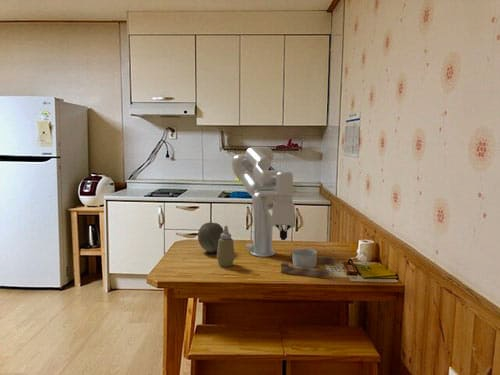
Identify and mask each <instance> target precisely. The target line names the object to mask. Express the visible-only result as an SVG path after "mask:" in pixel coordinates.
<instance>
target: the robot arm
mask: <svg viewBox="0 0 500 375" xmlns="http://www.w3.org/2000/svg"><path fill="white" fill-rule="evenodd" d="M273 160H274V151H273V149H271V147H268V146H251V147H249V148H247V149H246V151H245V153H240V154H235V155H234V156H233V157H232V160H231V167H232V170H233V173H234V175H235V177H236V178H237V179H238V180H239V181H240V182H241V184H242V185H243V187H245V189H246V191H247V193H248V195H250V196H251V205H252V209H253V210H252V211H253V212H252V213H253V231H252V232H253V236H252V237H253V239H252V240H253V243H245V248H246V249H250V250H249V254H250V255H252V256H254V257H261V258H262V257H263V258H264V257H266V258H267V257H273V256H275V254H276V250H275V249H273V229H274V228H273V227H276V228H277V229H278V231H279V238H280V240H281V241H286V239H287V238H288V230H289V229H292V228H296V207H295V202H294V201H293V198H294V197H293V192H294V191H293V190H294V188H293V187H294V186H293V185H294V184H293V183H294V174H293V173H292V171H285V170H281V169H279V170H277V169H276V170H275V169H273V170H271V169H270V168H271V166H272V161H273ZM269 169H270V170H269ZM270 211H271V213H270Z"/></svg>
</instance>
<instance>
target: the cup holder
mask: <svg viewBox="0 0 500 375" xmlns="http://www.w3.org/2000/svg"><path fill="white" fill-rule="evenodd" d="M293 251H294V250H292V251H291V254H290V261H293V254H292V252H293ZM316 264H320V265H329V266H335V257H331V256H321V255H317V263H316ZM280 273H281V274H289V275H297V276H305V277H312V278H318V279H319V278H320V279H329V276H330V275H329V274H330V270H328V269H323V268H322V269H321V268H315V267H314V268H307V267H299V266H294V265H289V264H288V262H282V263H281V264H280Z"/></svg>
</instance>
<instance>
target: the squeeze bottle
mask: <svg viewBox="0 0 500 375" xmlns="http://www.w3.org/2000/svg"><path fill="white" fill-rule="evenodd" d="M234 245H235V244H234V239H233V238H232V233H229V228H228V225H225V226H224V228H223V233H222V234H221V238H220V239H219V241H218V250H217V252H216V260H217V263H218V266H220V267H224V268H226V267H227V268H228V267H231V266H232V265H233V263H234V260H235V246H234Z"/></svg>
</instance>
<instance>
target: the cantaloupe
mask: <svg viewBox="0 0 500 375" xmlns="http://www.w3.org/2000/svg"><path fill="white" fill-rule="evenodd" d="M223 231H224V228H223V226H222V225H221V224H219V223H217V222H211V221H210V222H205V223H203V224H202V225H201V226H200V228H199V229H198V232H197V241H198V243H199V245H200V247H201V248H202V249H204V250H205V251H206V252H208V253H211V254H214V253H217V250H218V241H219V239H220V238H221V234H222V233H223Z"/></svg>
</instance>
